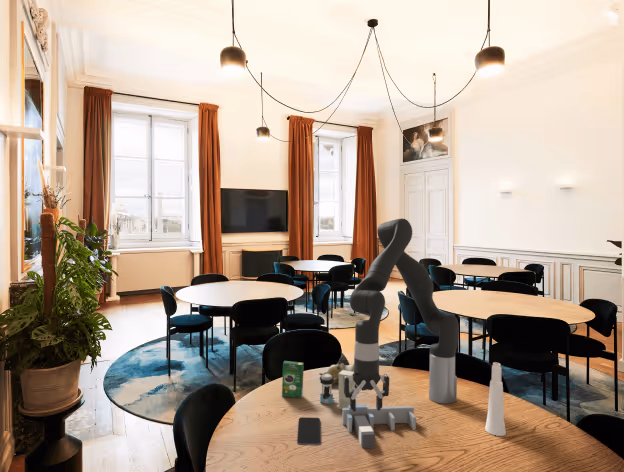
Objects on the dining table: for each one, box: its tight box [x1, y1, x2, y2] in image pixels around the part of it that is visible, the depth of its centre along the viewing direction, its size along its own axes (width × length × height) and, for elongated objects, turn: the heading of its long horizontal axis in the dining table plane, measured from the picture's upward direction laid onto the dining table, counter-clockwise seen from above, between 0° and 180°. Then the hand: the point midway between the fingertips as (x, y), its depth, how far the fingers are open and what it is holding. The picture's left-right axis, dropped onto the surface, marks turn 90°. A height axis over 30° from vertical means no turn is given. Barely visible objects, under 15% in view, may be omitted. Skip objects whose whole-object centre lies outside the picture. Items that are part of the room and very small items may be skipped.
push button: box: [319, 373, 338, 404], centre depth 139 cm, size 7×5×10 cm
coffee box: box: [281, 360, 305, 399], centre depth 144 cm, size 8×3×13 cm, turn 79°
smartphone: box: [296, 416, 322, 446], centre depth 118 cm, size 7×1×15 cm
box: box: [338, 370, 355, 410], centre depth 135 cm, size 5×4×13 cm
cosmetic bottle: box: [484, 361, 507, 437], centre depth 120 cm, size 6×6×22 cm
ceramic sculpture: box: [318, 361, 354, 385], centre depth 158 cm, size 11×9×15 cm
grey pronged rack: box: [341, 404, 417, 433], centre depth 122 cm, size 24×6×6 cm, turn 96°
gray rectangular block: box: [353, 415, 376, 449], centre depth 116 cm, size 12×4×4 cm, turn 6°
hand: (365, 409), depth 113 cm, fingers open, 7 cm apart
